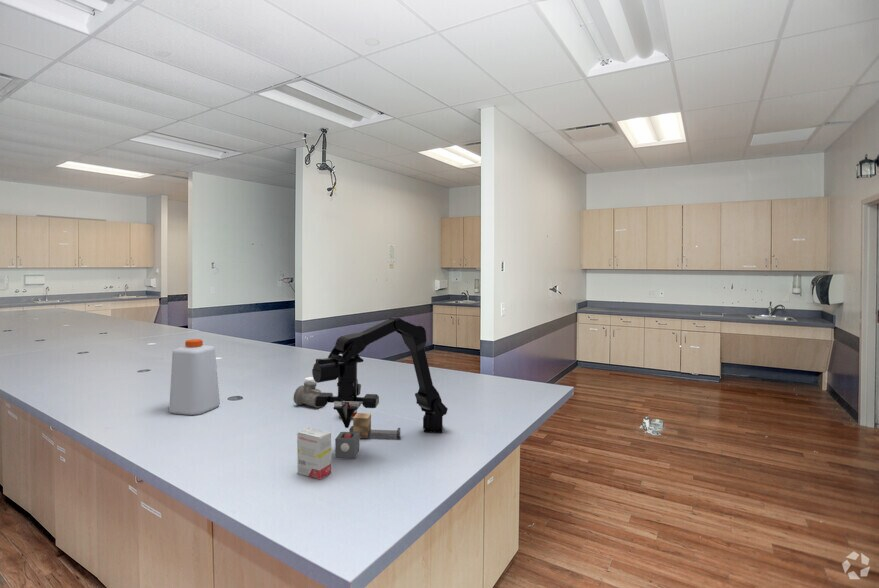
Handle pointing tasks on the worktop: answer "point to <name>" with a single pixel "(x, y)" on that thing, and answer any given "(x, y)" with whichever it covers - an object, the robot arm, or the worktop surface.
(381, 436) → the rail
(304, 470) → the ink box
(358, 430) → the block
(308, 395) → the pipe fitting
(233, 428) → the worktop surface
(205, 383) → the plastic bottle
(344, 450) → the grey button housing
